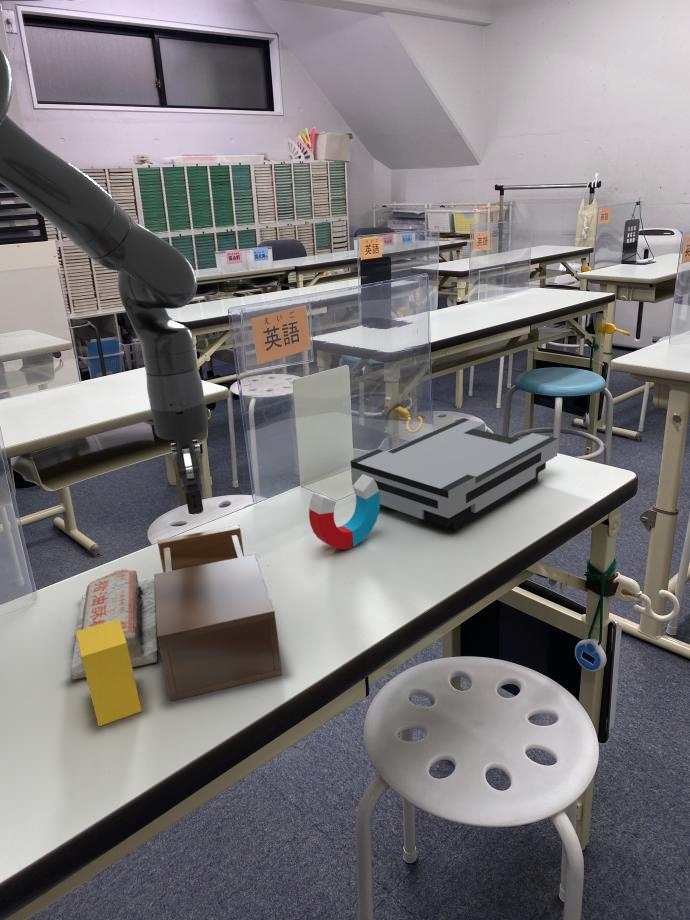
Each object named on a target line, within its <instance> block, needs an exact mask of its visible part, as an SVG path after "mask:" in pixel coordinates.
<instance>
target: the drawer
mask: <svg viewBox="0 0 690 920" xmlns="http://www.w3.org/2000/svg"><path fill="white" fill-rule="evenodd" d="M242 539H243V538H242V531H241V527H240V525H232V526H227V527H222V528H217V529H216V528H215V529H211V530H204V531H200V532H195V533H188V534H184V535H178V536H171V537H168V538H167V537H166V538H161V539H157V547H158V552H159V557H160V563H161V568H162V569H161V570H162V573H163V572H168V571H173V570H178V569H183V568H188V567H194V566H199V565H204V564H209V563H214V562H219V561H224V560H229V559H234V558H240V557H245V553H244V545H243V540H242Z"/></svg>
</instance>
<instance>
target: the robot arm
mask: <svg viewBox="0 0 690 920" xmlns="http://www.w3.org/2000/svg"><path fill="white" fill-rule="evenodd" d="M12 95H13V77H12V73H11V68H10V65H9V61H8V59H7V57H6V55H5V53H4V51H3V49H2V48H1V47H0V183H1V184H2V185H3V186H5V187H6V188H7V189H9V191H11V192H12V193H14V194H15V195H16V196H18V197H19V198H20V199H21V200H23V201H24V202H25V203H26V204H27V205H28V206H30V207H31V208H32V209H34V210H35V211H36V212H37V213H39V214H40V215H41V216H42V217H43V218H44V219H45V220H47V221H48V222H49V223H50V224H51V225H52V226H53V227H55V228H56V229H57V230H58V231H59V232H60V233H61V234H62V235H64V236H65V237H66V238H67V239H68V240H69V241H70V242H71V243H72V244H73V245H75V246H76V247H77V248H78V249H79V250H80V251H82V252H83V253H84V254H85V255H86V256H87V257H88V258H90V259H91V260H92V261H93V262H95V263H96V264H97V265H99V266H100V267H102V268H105V269H107V270H112V271H117V291H118V295H119V298H120V301H121V304H122V306H123V308H124V311H125V313H126V315H127V317H128V319H129V322H130V324H131V326H132V328H133V331H134V332H135V335H136V336H137V339H138V341H139V343H140V346H141V352H142V359H143V365H144V370H145V375H146V390H147V398H148V401H149V408H150V413H151V418H152V423H153V428H154V434H155V435H156V437H157V438H159V439H162V440H164V441H170V440H171V441H175V442H173V443H170V450H171V451H170V452H171V456H172V460H173V462H174V463H175V467H176V473H177V478H178V479H179V480H181V481H182V482H181V486H182V491H183V493H184V494H185V501H186V506H187V511H188V513H189V514H190V515H194V514H199V513H200V514H201V513H202V512H203V511H204V505H203V504H204V503H203V499H202V494H201V493H202V492H201V490H202V488H203V485H202V483H201V476H202V474H203V472H202V471H203V470H202V465H201V460H200V459H201V457H202V454H201V449H200V448H201V447H200V444H199V439H193V438H195V437H196V436H200V435H202V434H204V433H205V432H207V430H208V428H209V420H208V414H207V406H206V400H205V394H204V387H203V381H202V378H201V375H200V371H199V366H198V360H197V356H196V349H195V341H194V337H193V333H192V331H191V329H190V328H189V327H187V326H186V325H184V324H181V323H179V322H177V321H175V320H173V318H172V317H171V314H170V312H169V311H168V310H173V309H175V310H176V309H180V308H183V307H186V306H187V305H189V304H190V303H191V302H192V301H193V299H194V298H195V296H196V293H197V290H198V279H197V275H196V272H195V270H194V268H193V266H192V264H191V262H190V261H189V259H188V258H186V256H185V255H184V254H183V253H181V251H180V250H178V249H177V248H176V247H174V246H172V245H171V244H170V243H169V242H167V241H166V240H164V239H163V238H161V237H160V236H158V235H157V234H155V233H154V232H152V231H151V230H149V229H147V228H145V227H144V226H142V225H140V224H139V223H138V222H136V220H134V219H133V217H132V216H131V215H130V214H129V213H128V212H127V211H126V210H125V209H124V208H123V207H122V206H121V205H120V204H119V203H118V202H117V201H116V200H115V199H114V198H113V197H112V196H111V195H110V194H109V193H108V192H107V191H106V190H105V189H104V188H102V186H101V185H99V184H98V183H97V182H95V181H94V180H93V179H92V178H90V177H89V176H88V175H86V174H85V173H84V172H83V171H81V170H80V169H79V168H76V167H75V166H74V165H73V164H71V163H69V162H68V161H67V160H65V159H63V158H62V157H61V156H59V155H57V154H56V153H55V152H53V151H51V150H50V149H48V148H47V147H46V146H44V145H43V144H41V143H40V142H39V141H37V140H36V139H35V138H33V136H31V135H30V134H28V132H27V131H25V130H24V129H23V128H22V127H20V126H19V125H18V124H17V123H16V122H15V121H13V119H12V118H11V117H10V116H9V115H8V112H9V109H10V105H11V101H12Z"/></svg>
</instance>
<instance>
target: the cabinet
mask: <svg viewBox="0 0 690 920" xmlns="http://www.w3.org/2000/svg"><path fill="white" fill-rule="evenodd" d="M153 579H154V582H155V601H156V620H157V643H158V646H159V653H160V657H161V662H162V667H163V672H164V677H165V682H166V687H167V693H168V698H169V702H174V701H178V700H181V699H187V698H191V697H194V696H199V695H202V694H203V695H204V694H207V693H211V692H215V691H219V690H224V689H227V688H232V687H236V686H240V685H244V684H250V683H253V682H257V681H262V680H265V679H269V678H274V677H278V676H282V675H283V670H282V669H283V668H282V661H281V653H280V643H279V635H278V629H277V620H276V619H277V618H276V612H275V609H274V606H273V603H272V599H271V597H270V594H269V591H268V588H267V586H266V582H265V580H264V576H263V574H262V570H261V568H260V565H259V562H258V559H257V557H256V554H251V555H246V556H245V555H244V557H240V558H234V559H229V560H224V561H219V562H214V563H209V564H204V565H199V566H194V567H188V568H183V569H178V570H173V571H168V572H163V571H162V572H158V573H154V574H153Z"/></svg>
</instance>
